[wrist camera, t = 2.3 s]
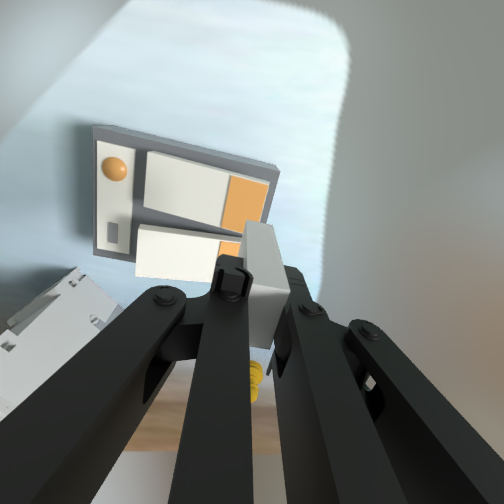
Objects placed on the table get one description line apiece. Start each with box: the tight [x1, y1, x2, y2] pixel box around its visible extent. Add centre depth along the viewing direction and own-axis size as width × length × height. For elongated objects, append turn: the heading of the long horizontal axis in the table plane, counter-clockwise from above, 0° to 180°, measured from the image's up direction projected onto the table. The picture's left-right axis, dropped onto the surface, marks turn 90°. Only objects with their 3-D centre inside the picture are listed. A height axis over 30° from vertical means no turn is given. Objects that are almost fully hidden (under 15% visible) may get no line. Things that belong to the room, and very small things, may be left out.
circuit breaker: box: [0, 267, 124, 421], centre depth 29 cm, size 8×14×15 cm, turn 33°
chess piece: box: [250, 361, 263, 403], centre depth 38 cm, size 4×4×5 cm
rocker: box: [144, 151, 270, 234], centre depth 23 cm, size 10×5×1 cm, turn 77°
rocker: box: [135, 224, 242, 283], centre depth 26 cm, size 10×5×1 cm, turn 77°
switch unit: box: [92, 125, 280, 263], centre depth 27 cm, size 16×12×5 cm
